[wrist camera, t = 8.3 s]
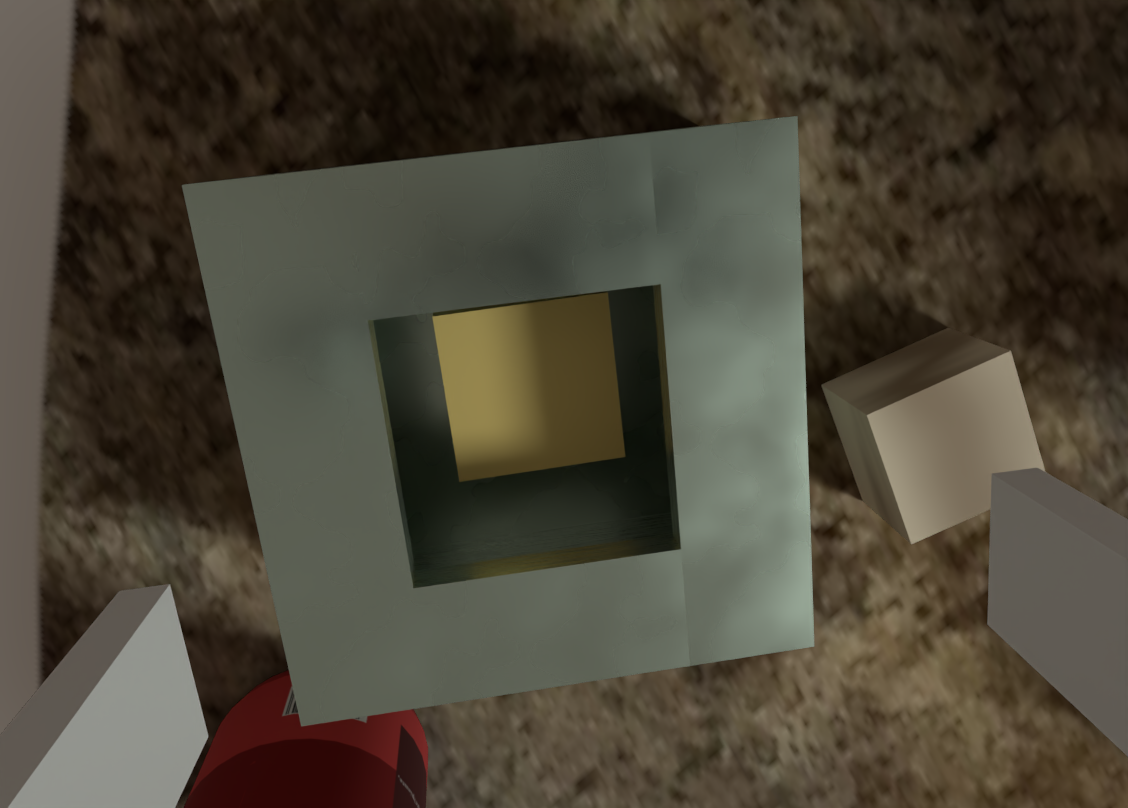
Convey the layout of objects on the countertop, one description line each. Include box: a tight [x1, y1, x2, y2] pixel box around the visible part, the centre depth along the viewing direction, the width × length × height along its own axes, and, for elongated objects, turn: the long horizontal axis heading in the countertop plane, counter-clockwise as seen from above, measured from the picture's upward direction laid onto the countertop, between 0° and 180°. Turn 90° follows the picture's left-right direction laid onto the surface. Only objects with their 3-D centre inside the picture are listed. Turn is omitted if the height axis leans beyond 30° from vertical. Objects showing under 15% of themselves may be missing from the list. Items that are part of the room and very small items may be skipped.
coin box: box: [182, 116, 814, 726], centre depth 27 cm, size 14×14×9 cm
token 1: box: [432, 291, 625, 482], centre depth 28 cm, size 5×5×4 cm
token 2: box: [821, 328, 1045, 544], centre depth 31 cm, size 5×5×4 cm
